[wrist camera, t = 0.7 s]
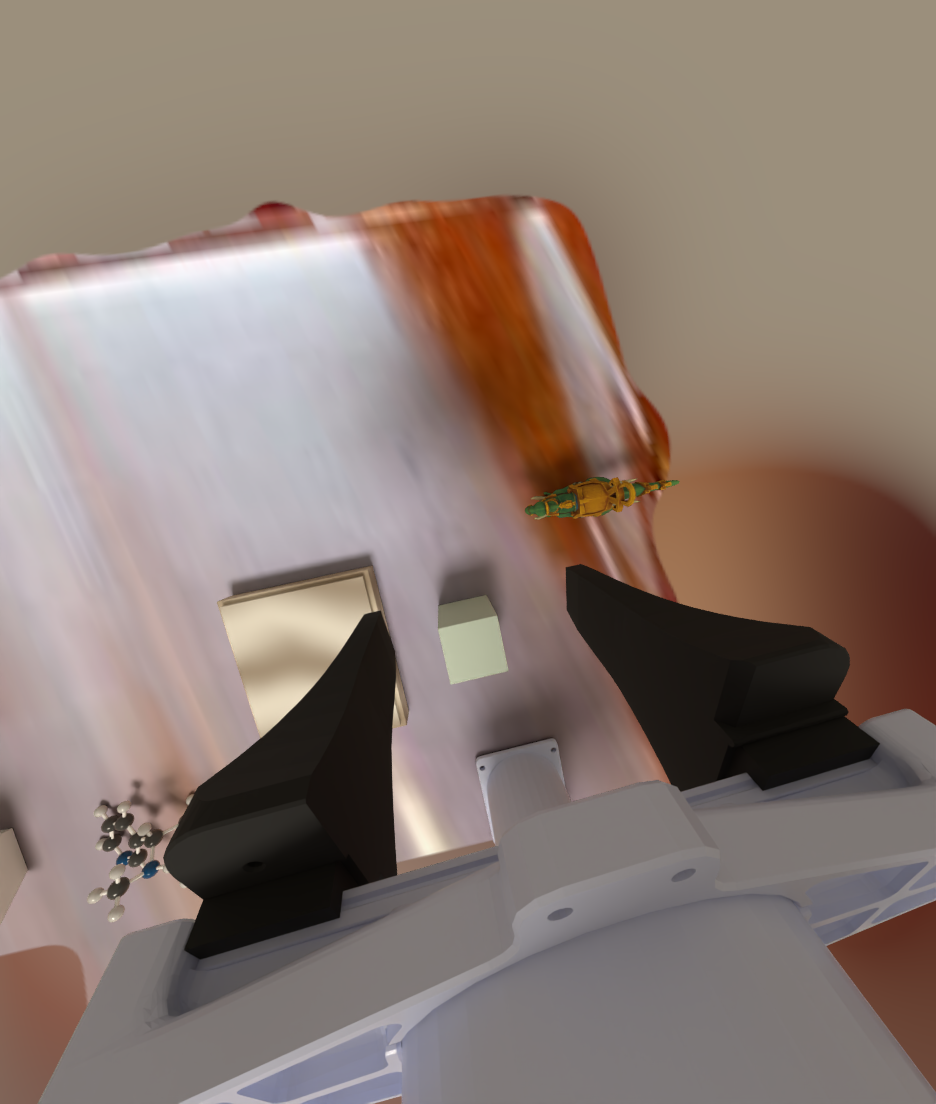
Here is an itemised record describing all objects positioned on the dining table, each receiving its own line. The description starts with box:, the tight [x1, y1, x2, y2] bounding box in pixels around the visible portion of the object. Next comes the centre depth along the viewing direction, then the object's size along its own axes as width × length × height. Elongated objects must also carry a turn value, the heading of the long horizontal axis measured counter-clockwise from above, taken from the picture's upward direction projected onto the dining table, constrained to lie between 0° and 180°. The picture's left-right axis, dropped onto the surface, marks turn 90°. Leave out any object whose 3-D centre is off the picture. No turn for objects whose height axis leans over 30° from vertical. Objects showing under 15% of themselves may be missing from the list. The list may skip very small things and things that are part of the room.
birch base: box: [217, 566, 409, 738], centre depth 29 cm, size 14×12×2 cm
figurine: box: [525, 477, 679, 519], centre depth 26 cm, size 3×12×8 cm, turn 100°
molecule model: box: [87, 794, 194, 922], centre depth 28 cm, size 6×12×8 cm, turn 98°
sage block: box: [438, 595, 508, 684], centre depth 28 cm, size 4×4×6 cm
